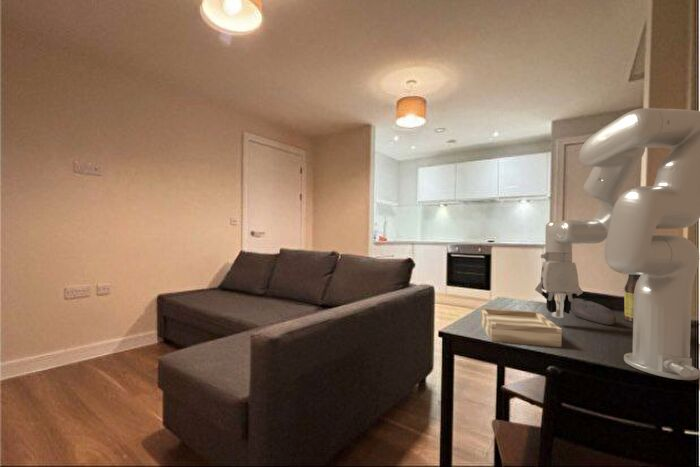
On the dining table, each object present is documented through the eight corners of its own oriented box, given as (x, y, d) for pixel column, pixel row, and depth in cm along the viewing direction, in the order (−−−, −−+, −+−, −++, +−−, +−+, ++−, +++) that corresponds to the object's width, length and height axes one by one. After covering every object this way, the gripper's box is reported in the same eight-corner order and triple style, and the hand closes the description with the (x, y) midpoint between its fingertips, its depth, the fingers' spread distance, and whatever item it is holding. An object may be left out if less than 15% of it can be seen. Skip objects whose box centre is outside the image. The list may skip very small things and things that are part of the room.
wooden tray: (561, 348, 86) (561, 328, 85) (491, 342, 90) (491, 323, 90) (537, 328, 103) (538, 312, 103) (480, 324, 107) (480, 308, 107)
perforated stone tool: (621, 327, 104) (622, 306, 104) (609, 328, 103) (609, 307, 103) (579, 315, 118) (579, 297, 118) (568, 315, 117) (568, 297, 117)
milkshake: (562, 319, 101) (564, 289, 101) (546, 315, 106) (547, 286, 106) (571, 318, 103) (572, 288, 103) (554, 314, 108) (556, 286, 108)
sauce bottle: (638, 319, 114) (639, 265, 113) (653, 324, 108) (654, 267, 107) (618, 318, 114) (620, 264, 114) (632, 323, 108) (634, 266, 108)
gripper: (534, 258, 103) (534, 313, 103) (592, 259, 99) (593, 316, 99) (527, 256, 110) (527, 308, 110) (581, 257, 106) (581, 311, 106)
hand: (558, 311), depth 104 cm, fingers closed on milkshake, 4 cm apart
